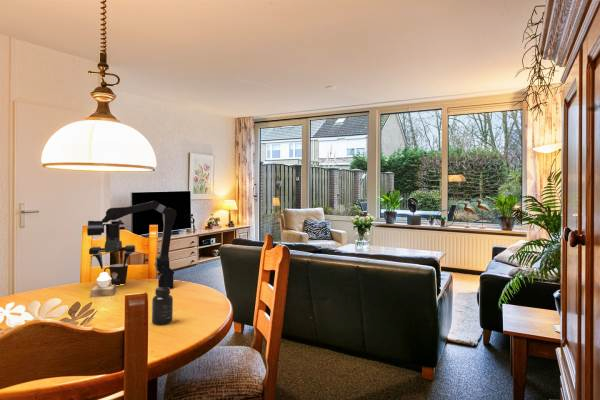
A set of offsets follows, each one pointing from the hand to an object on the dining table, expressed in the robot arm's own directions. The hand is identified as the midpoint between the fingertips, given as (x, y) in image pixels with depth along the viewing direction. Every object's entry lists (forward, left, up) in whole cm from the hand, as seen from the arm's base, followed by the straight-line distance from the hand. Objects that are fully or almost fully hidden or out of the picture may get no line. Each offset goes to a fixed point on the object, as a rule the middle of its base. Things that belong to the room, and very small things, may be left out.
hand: (113, 268), depth 168 cm
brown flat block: (+4, +2, -12) cm, 12 cm away
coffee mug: (+1, -18, -12) cm, 22 cm away
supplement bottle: (-22, +52, -12) cm, 58 cm away
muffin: (+3, +2, -8) cm, 9 cm away
